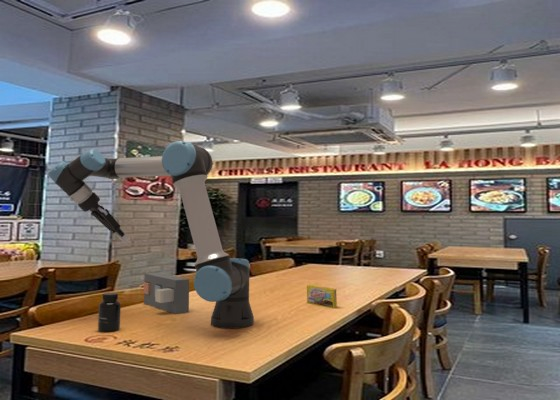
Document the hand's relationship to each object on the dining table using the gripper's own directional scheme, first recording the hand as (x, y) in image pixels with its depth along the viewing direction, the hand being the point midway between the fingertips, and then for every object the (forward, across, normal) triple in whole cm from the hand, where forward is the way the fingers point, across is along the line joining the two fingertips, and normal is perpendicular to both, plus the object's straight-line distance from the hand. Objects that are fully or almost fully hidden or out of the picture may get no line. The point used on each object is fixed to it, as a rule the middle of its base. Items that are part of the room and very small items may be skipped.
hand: (127, 241), depth 180 cm
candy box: (+70, +38, +30) cm, 85 cm away
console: (+32, 0, -8) cm, 33 cm away
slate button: (+28, 0, -5) cm, 29 cm away
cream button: (+25, +11, -8) cm, 28 cm away
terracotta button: (+28, -11, -5) cm, 31 cm away
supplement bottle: (+9, +24, -31) cm, 40 cm away
